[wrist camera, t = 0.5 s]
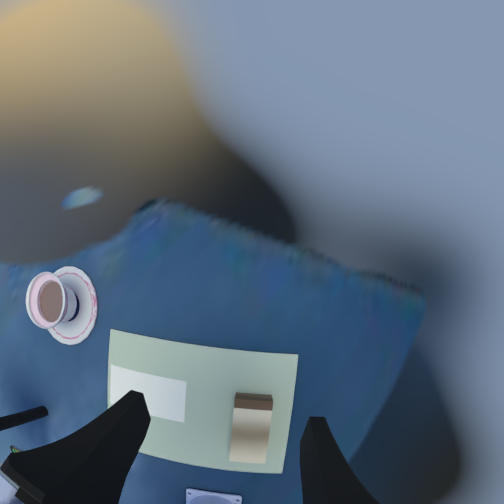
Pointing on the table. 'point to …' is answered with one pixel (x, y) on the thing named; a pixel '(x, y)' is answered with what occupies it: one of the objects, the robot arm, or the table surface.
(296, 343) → the table surface
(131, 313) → the table surface
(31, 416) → the solar garden light
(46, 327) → the teacup
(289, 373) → the mat
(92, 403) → the table surface
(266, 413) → the brown-topped white block
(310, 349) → the table surface
